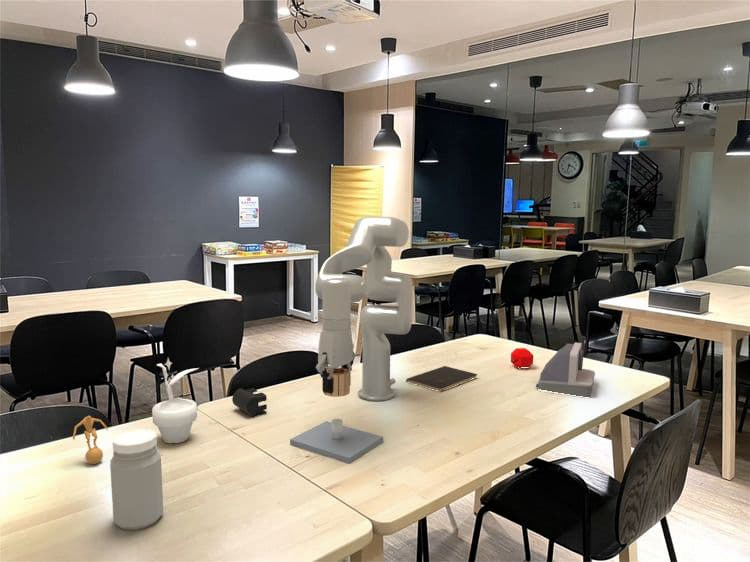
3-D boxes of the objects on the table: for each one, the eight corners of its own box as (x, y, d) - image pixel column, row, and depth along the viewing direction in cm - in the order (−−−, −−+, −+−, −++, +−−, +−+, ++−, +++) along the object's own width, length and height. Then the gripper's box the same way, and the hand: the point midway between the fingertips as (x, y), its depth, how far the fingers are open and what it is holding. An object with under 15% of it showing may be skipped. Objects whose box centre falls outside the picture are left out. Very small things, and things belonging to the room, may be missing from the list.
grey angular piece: (588, 401, 189) (590, 358, 187) (528, 389, 201) (530, 349, 199) (602, 385, 207) (604, 345, 205) (546, 375, 218) (548, 337, 216)
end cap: (232, 410, 178) (231, 390, 177) (252, 405, 183) (251, 385, 182) (247, 419, 171) (246, 398, 170) (267, 414, 175) (267, 393, 174)
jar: (102, 526, 113) (96, 441, 111) (138, 502, 122) (134, 424, 120) (139, 536, 110) (135, 449, 107) (174, 511, 119) (170, 431, 117)
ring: (334, 386, 157) (334, 365, 156) (354, 391, 153) (354, 370, 152) (318, 393, 151) (318, 371, 150) (339, 398, 147) (339, 376, 146)
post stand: (326, 425, 166) (326, 404, 165) (383, 441, 155) (383, 419, 154) (290, 444, 153) (289, 421, 152) (349, 463, 142) (349, 439, 141)
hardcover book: (477, 379, 213) (477, 374, 212) (440, 394, 196) (440, 387, 196) (443, 371, 224) (443, 365, 224) (405, 384, 207) (405, 378, 207)
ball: (508, 365, 231) (509, 347, 230) (527, 364, 232) (528, 346, 231) (515, 370, 223) (516, 352, 222) (534, 370, 224) (535, 351, 223)
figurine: (80, 471, 137) (76, 424, 135) (71, 463, 141) (67, 417, 139) (114, 460, 143) (112, 415, 141) (105, 453, 147) (102, 409, 145)
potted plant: (154, 451, 148) (150, 359, 145) (153, 435, 158) (148, 349, 155) (204, 443, 153) (201, 354, 150) (199, 428, 163) (196, 344, 160)
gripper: (344, 317, 159) (344, 378, 161) (304, 328, 144) (305, 394, 146) (366, 320, 154) (366, 383, 157) (327, 331, 140) (327, 400, 142)
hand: (336, 388), depth 152 cm, fingers closed on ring, 7 cm apart
